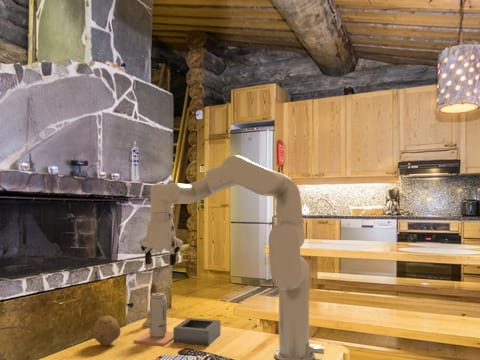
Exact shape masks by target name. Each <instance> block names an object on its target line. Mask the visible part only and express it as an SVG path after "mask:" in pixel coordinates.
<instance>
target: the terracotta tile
mask: <svg viewBox="0 0 480 360" xmlns="http://www.w3.org/2000/svg"><path fill="white" fill-rule="evenodd" d="M149 333H150V330H148V331H147V332H145V333H143V334H141V335H139V336H138V337H136V338H135V339H134V340H133V343H135V344H143V345H153V346H167V345H169V343H171V342H172V341H173V339H174V331H169V330H167V333H166V334H165V337H163V338H157V339H156V338H151V335H150V334H149Z"/></svg>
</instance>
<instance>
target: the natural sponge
mask: <svg viewBox="0 0 480 360" xmlns="http://www.w3.org/2000/svg"><path fill="white" fill-rule="evenodd" d="M120 336H121V327H120V324H119V322H118V321H117V319H116V318H115V317H113V316H110V315H104V316H101V317H99V318H98V320H96V322H95V323H94V326H93V328H92V337H93V338H94V340H95V341H97V342H98V343H99V344H100V345H101V346H104V347H108V346H110V345H111V344H113V342H115V341H116V340H117V339H118V338H119V337H120Z"/></svg>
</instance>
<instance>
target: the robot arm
mask: <svg viewBox="0 0 480 360" xmlns="http://www.w3.org/2000/svg"><path fill="white" fill-rule="evenodd" d="M235 186H240V187H242V188H245V189H246V190H248V191H250V192H253V193H255V194H256V195H257V194H258V195H260V196H265V197H266V196H267V197H273V198H274V199H275V216H276V217H275V218H276V224H275V225H274V226H273V227H272V228H271V229H270V231H269V235H268V255H269V257H268V258H269V268H270V269H269V271H270V276H271V280H272V282H273V283H274V285H275V286H276V287H277V288H278V291H279V292H278V331H279V332H278V334H279V335H278V342H279V343H278V344H279V347H277V348H276V349H275V350H274V357H275V358H276V359H277V360H314V359H315V356H316V354H319V355H324V354H325V347H324V346H323V347H322V346H321V345H320V344H314V343H312V339H310V277H311V275H310V274H311V273H310V267H309V263H308V262H307V260H306V259H305V258H304V257H302V256H301V247H302V246H303V245H304V242H305V241H306V240H305V236H306V235H305V228H304V220H303V209H302V208H303V207H302V197H301V193H300V190H299V187H298V185H297V184H296V182H295V181H294V180H293V179H292V178H291V177H289V176H288V175H286V174H284V173H282V172H278V171H275V170H272V169H269V168H266V167H264V166H261V165H259V164H258V163H255V162H252V161H251V160H250V159H249V158H247V157H244V156H242V155H239V154H234V155H230V156H228V157H226V158H224V160H223V161H222V164H221V165H218V166H215V167H212V168H210V169H207V171H206V173H205V176H204V177H202V178H201V179H198V180H196V181H193V182H191V183H180V182H173V183H167V184H166V183H165V184H164V183H163V184H161V183H159V184H158V183H156V184H153V185H151V187H150V221H148V224H147V231H146V237H144V238H143V239H141V240H139V241H138V244H139V247H140V250H142V252H143V254H144V261H145V265H150V264H152V263H153V262H152V258H153V257H152V253H151V252H152V251H153V249H155V250H160V249H161V250H162V249H163V250H169V252H170V254H169V265H170V266H175V265H176V263H177V254H178V253H179V251H180V250H181V248H182V246H183V244H184V241H182V240H181V239H179V238H177V237H176V228H175V222H174V221H173V219H174V218H175V214H173V213H172V204H173V205H174V204H175V205H177V204H178V205H181V204H182V205H184V204H185V205H189V204H193V203H196V202H198V201H202V200H204V199H206V198H209V197H211V196H213V195H216V194H217V193H218V192H221V191H224V190H226V189H227V190H228V189H230V188H232V187H235ZM145 243H146V245H145Z"/></svg>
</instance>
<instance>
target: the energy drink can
mask: <svg viewBox="0 0 480 360" xmlns="http://www.w3.org/2000/svg"><path fill="white" fill-rule="evenodd" d="M167 301H168V299H167V296H166V293H165V292H157V293H153V294H152V296H151V295H150V298H149V310H150V327H149V331H150V333H149V334H150V335H151V338H156V339H157V338H163V337H165V334H166V333H167V331H168V330H167V329H168V328H167V322H168V321H167V319H168V318H167V317H168V315H167V313H168V312H167V311H168V310H167V309H168V307H167V305H168V303H167Z"/></svg>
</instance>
